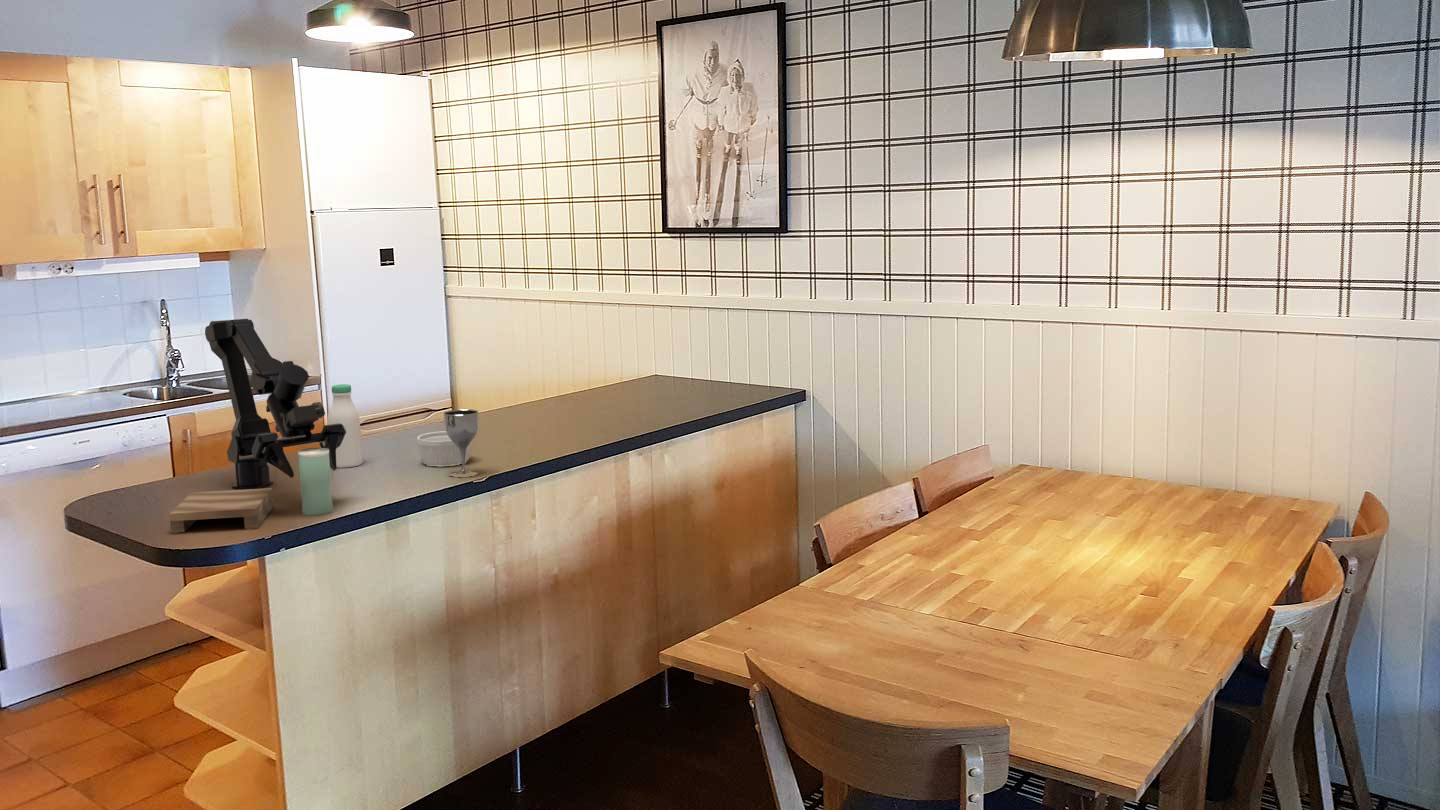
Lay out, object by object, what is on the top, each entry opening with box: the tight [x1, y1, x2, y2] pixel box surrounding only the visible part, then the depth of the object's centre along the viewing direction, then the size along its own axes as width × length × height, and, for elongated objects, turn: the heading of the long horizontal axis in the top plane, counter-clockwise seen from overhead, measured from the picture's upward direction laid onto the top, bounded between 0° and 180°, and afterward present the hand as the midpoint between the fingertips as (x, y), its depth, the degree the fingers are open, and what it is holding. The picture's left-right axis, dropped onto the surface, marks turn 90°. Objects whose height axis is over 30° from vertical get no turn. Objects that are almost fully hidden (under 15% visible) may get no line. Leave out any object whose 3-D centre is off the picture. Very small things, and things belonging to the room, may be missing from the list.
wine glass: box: [443, 408, 479, 474], centre depth 275 cm, size 8×8×15 cm
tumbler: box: [297, 447, 334, 516], centre depth 242 cm, size 6×6×13 cm
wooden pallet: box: [169, 487, 274, 534], centre depth 237 cm, size 18×16×4 cm
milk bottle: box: [326, 384, 363, 469], centre depth 287 cm, size 8×8×20 cm
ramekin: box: [416, 430, 472, 465], centre depth 289 cm, size 13×13×7 cm
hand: (314, 472), depth 242 cm, fingers open, 9 cm apart
